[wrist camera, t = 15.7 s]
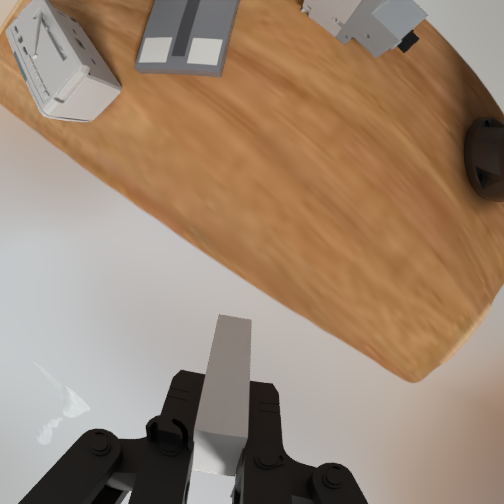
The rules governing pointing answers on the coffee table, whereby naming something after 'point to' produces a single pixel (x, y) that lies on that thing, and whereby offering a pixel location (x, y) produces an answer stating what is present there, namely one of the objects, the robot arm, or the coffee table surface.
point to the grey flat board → (187, 37)
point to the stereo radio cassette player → (60, 64)
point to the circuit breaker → (369, 22)
